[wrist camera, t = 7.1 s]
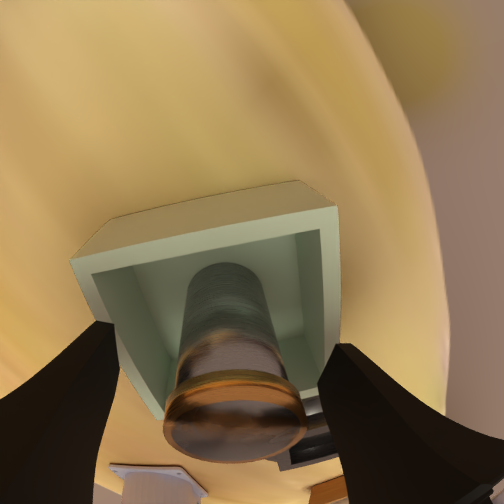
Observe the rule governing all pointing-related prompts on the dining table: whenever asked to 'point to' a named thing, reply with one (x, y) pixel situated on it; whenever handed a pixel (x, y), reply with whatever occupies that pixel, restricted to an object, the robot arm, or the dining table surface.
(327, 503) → the soap dish
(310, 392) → the bin
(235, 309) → the jar with copper lid
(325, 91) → the dining table surface
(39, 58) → the dining table surface
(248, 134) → the dining table surface
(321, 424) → the mount
